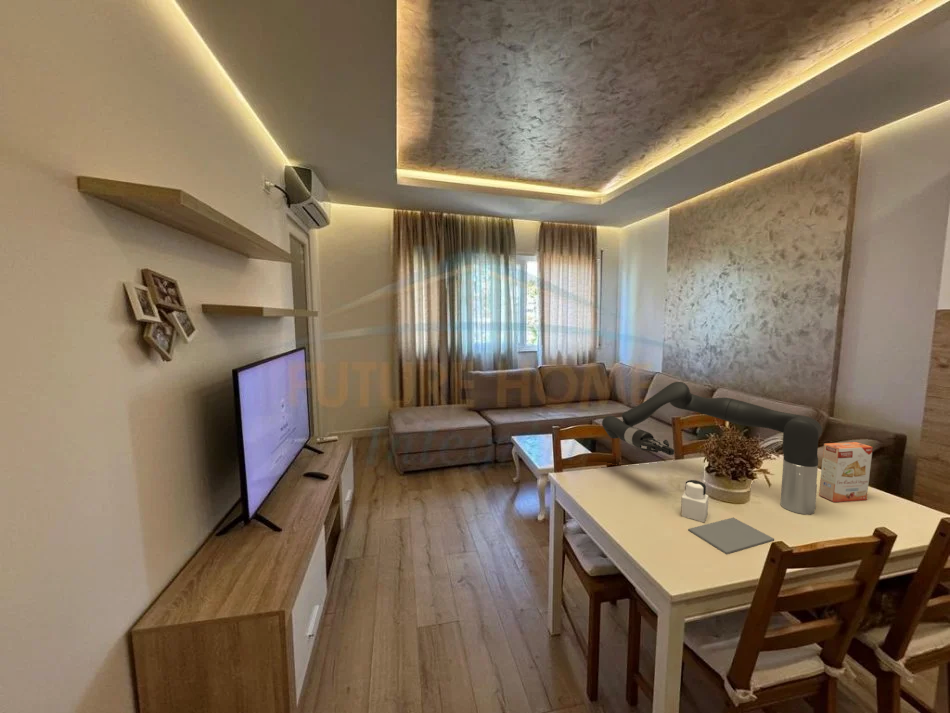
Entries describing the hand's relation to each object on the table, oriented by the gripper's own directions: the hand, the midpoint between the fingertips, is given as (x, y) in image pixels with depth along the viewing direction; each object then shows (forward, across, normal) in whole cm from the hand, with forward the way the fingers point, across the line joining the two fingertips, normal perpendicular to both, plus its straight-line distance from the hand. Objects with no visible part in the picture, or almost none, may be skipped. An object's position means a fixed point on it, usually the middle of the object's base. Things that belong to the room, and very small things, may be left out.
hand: (672, 452), depth 137 cm
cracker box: (+20, +62, +19) cm, 68 cm away
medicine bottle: (+10, 0, +19) cm, 22 cm away
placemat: (+23, 0, +19) cm, 30 cm away
